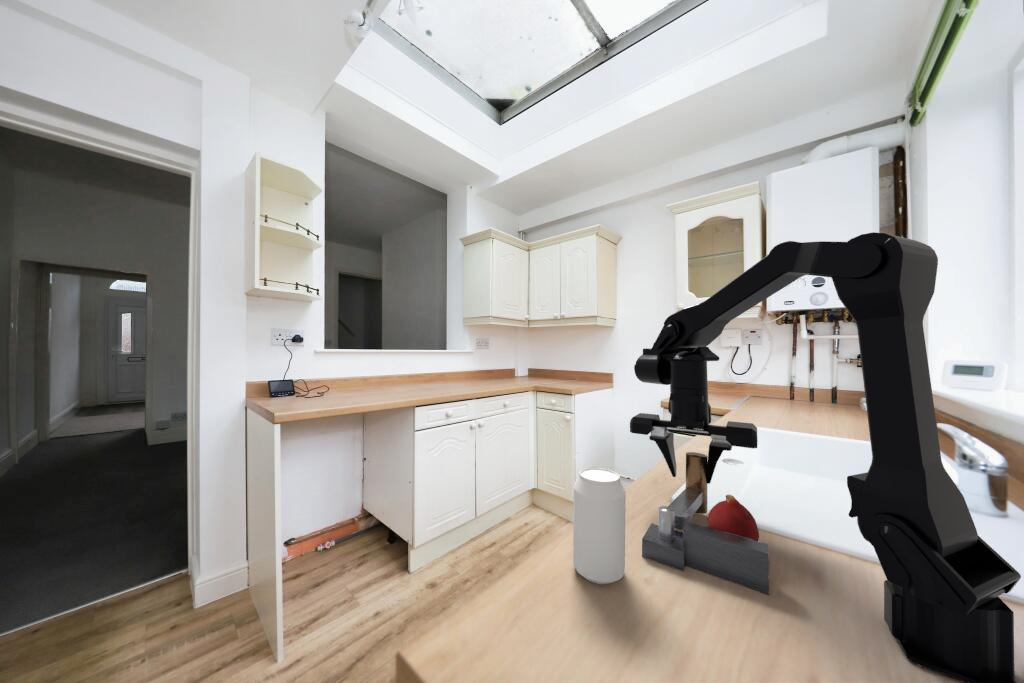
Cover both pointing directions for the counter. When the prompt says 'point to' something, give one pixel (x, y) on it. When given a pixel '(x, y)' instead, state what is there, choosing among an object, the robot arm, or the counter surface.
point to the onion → (733, 519)
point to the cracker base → (707, 551)
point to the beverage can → (599, 525)
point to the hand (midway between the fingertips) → (691, 479)
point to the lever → (692, 490)
